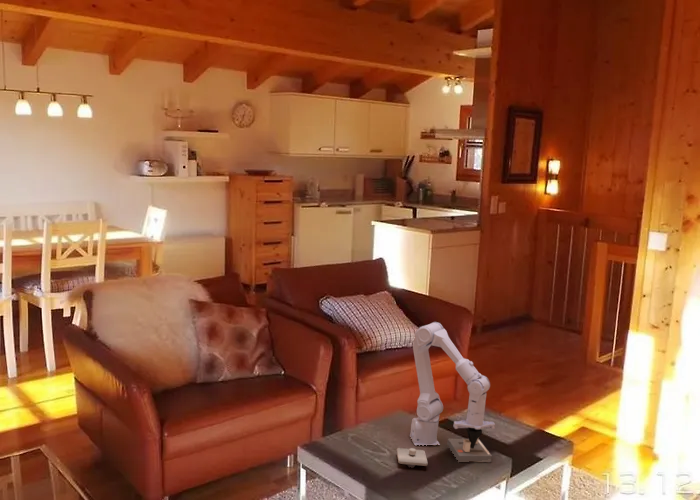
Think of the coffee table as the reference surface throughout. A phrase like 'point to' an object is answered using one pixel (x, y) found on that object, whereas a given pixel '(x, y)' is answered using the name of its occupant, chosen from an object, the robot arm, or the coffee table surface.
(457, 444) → the grey flat block
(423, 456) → the light switch
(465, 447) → the breaker
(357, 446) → the coffee table surface
